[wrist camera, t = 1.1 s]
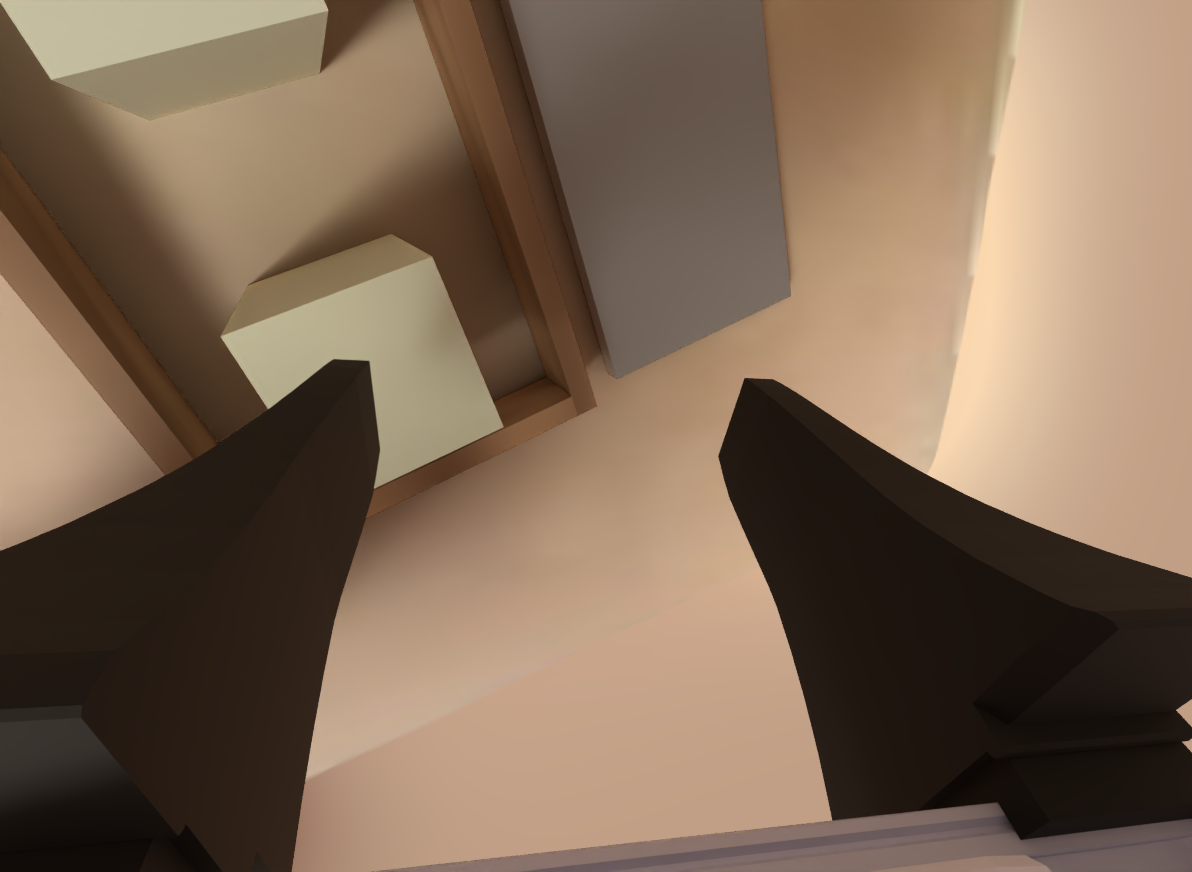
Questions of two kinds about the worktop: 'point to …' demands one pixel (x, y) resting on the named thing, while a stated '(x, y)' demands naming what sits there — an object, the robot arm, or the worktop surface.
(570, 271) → the worktop surface
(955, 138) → the worktop surface
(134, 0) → the plain box
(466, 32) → the walnut tray
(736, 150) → the slate board
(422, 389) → the olive beige rectangular block
